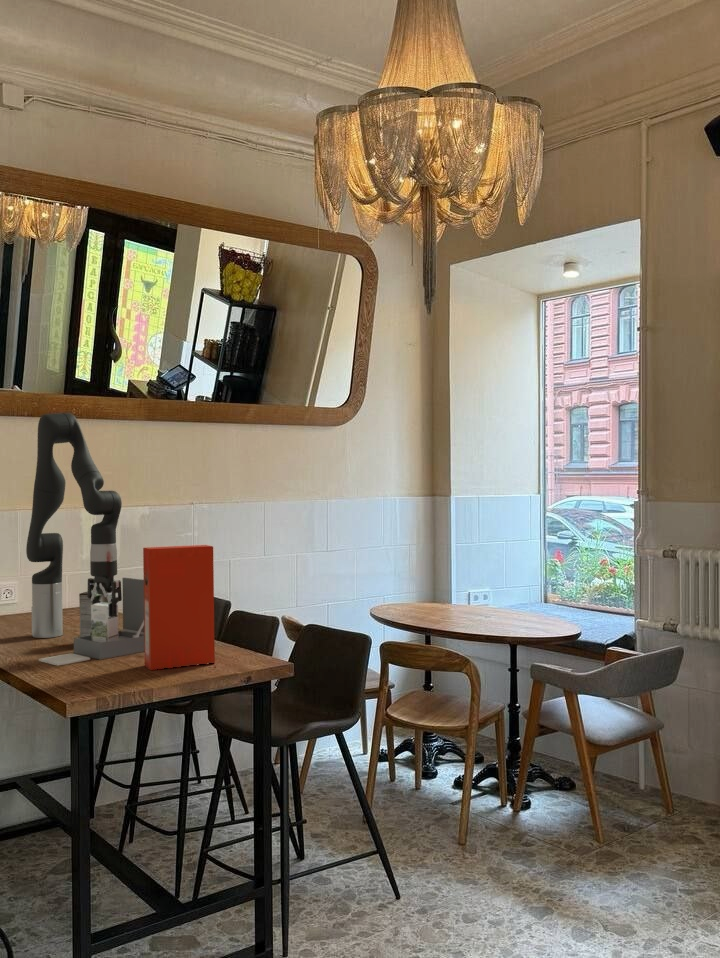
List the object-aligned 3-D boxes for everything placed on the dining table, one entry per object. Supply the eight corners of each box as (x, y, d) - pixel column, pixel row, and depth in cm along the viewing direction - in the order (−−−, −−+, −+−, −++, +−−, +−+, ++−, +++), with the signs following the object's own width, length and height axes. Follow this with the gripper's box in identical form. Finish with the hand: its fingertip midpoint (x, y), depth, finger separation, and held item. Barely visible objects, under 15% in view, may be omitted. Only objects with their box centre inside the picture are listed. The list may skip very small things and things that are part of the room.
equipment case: (73, 653, 258) (73, 582, 258) (125, 644, 271) (124, 577, 271) (100, 659, 249) (99, 586, 249) (152, 650, 262) (152, 580, 262)
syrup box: (119, 651, 260) (119, 602, 260) (107, 655, 254) (107, 605, 254) (103, 650, 262) (102, 601, 262) (90, 654, 256) (90, 604, 256)
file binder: (144, 665, 241) (143, 547, 241) (206, 658, 248) (205, 544, 248) (151, 670, 233) (149, 549, 233) (214, 664, 241) (213, 546, 241)
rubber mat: (38, 660, 248) (38, 658, 248) (71, 655, 255) (71, 653, 255) (57, 665, 241) (57, 663, 241) (90, 659, 249) (90, 657, 249)
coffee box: (94, 640, 279) (93, 589, 279) (113, 640, 278) (112, 589, 278) (79, 645, 270) (78, 593, 270) (98, 646, 269) (98, 593, 269)
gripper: (79, 559, 260) (79, 614, 260) (105, 561, 250) (106, 618, 250) (101, 557, 265) (102, 611, 265) (128, 559, 256) (129, 615, 256)
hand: (104, 615), depth 258 cm, fingers open, 8 cm apart
